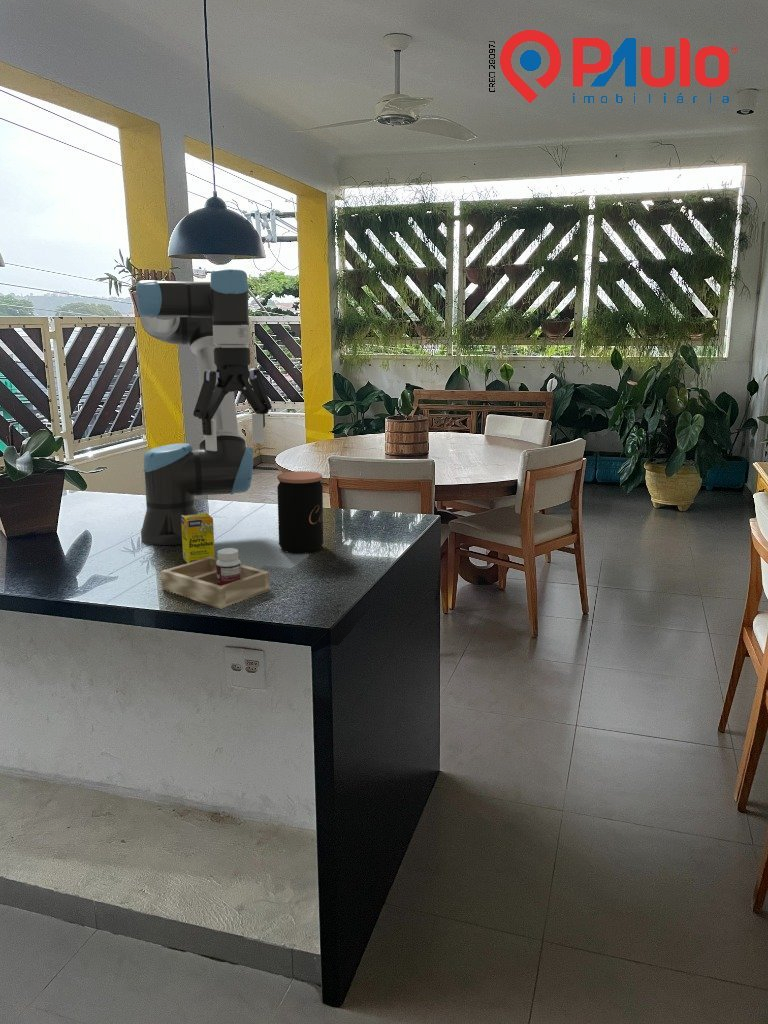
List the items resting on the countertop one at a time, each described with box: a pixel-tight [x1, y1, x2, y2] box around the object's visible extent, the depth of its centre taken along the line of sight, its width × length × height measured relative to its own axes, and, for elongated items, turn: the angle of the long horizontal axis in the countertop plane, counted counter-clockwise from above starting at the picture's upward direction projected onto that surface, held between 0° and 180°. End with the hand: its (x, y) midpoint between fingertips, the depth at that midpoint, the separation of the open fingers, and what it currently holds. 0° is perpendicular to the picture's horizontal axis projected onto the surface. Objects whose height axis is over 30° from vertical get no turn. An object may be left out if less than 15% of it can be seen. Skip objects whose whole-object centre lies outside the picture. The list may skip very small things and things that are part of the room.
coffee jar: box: [276, 470, 324, 555], centre depth 182 cm, size 11×11×18 cm
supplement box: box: [181, 512, 216, 564], centre depth 171 cm, size 6×6×11 cm
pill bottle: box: [216, 547, 242, 586], centre depth 151 cm, size 5×5×8 cm
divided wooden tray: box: [160, 556, 271, 610], centre depth 154 cm, size 18×13×4 cm
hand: (235, 446), depth 165 cm, fingers open, 13 cm apart
